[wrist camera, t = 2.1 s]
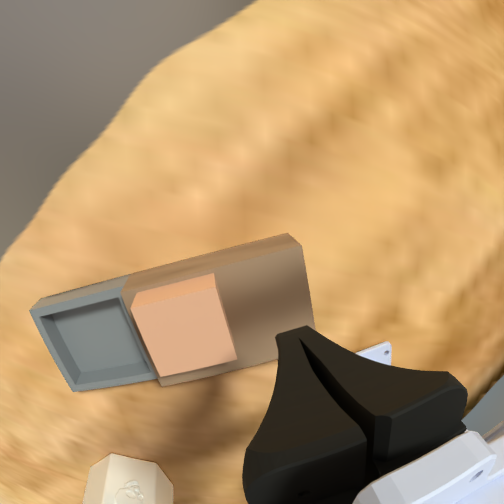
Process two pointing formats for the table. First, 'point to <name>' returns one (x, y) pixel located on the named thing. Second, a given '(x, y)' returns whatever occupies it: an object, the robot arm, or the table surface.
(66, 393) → the table surface
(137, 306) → the peach flat square block
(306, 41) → the table surface
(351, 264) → the table surface
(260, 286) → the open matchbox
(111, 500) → the jar
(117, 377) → the tray
